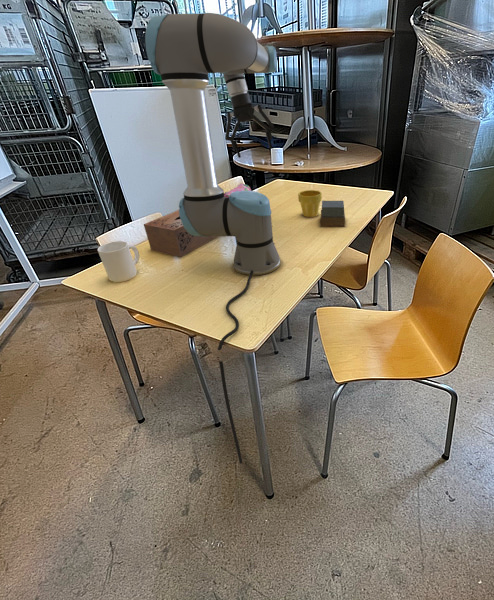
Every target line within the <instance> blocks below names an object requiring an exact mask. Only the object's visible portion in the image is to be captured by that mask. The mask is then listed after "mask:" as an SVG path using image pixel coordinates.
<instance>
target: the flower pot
mask: <svg viewBox="0 0 494 600" xmlns="http://www.w3.org/2000/svg"><path fill="white" fill-rule="evenodd" d="M297 198H298V199H297V200H298V202H299V205H300V208H301V212H302V215H303V216H304V217H306V218H312V217H313V218H315V217H317V216H318V215H319V210H320V204H321V202H322V201H323V199H322V198H323V195H322V191H320V190H317V189H316V190H315V189H310V190H309V189H306V190H302V191H299V192H298V193H297Z"/></svg>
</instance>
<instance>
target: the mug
mask: <svg viewBox="0 0 494 600" xmlns="http://www.w3.org/2000/svg"><path fill="white" fill-rule="evenodd" d="M131 250H132V252H133V253H134V259H133V255H132V253H131ZM97 252H98V255H99V257H100V258H99V259H100V260H101V263H102V265H103V268H104V270H105V273H106V276H107V278H108V279H109V280H110V281H111V282H113V283H123V282H127V281H129V280H132V279H134V278H135V277H136V276H137V273H138V271H137V268H136V265H137V264H138V262H139V260H140V251H139V249H138V248H137V247H136V245H134V244H131V243H128V242H127V241H123V240H117V241H116V240H115V241H110V242H106V243H103V244H101V245H99V247H97Z"/></svg>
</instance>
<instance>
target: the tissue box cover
mask: <svg viewBox="0 0 494 600" xmlns="http://www.w3.org/2000/svg"><path fill="white" fill-rule="evenodd" d="M143 228H144V231H145V234H146V237H147V242H148V244H149V248H150V250H151V251H152V252H157V253H161V254H166V255H170V256H172V257H173V256H174V257H177V258H182V257H184V256H186V255H188V254H190V253H191V252H193V251H195V250H197V249H198V248H200V247H202V246H204V245H205V244H208V243H209V242H210V241H213V240H215V239H216V238H219V236H207V237H202V236H193V235H191V234H189V233H188V232H187V231H186V230H185V228H184V226H183V224H182V222H181V219H180V215H179V209H178V210H175V211H172V212H170V213H168V214H167V213H166V214H165V215H163V216H161V217H160V216H159V217H158V218H155V219H153V220H150V221H148V222H146V223H144V224H143Z"/></svg>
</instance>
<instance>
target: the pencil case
mask: <svg viewBox="0 0 494 600" xmlns="http://www.w3.org/2000/svg"><path fill="white" fill-rule="evenodd" d="M235 191H252V189H251V186H249V185H248V184H245V183H241V182H240V183H239V184H238V185H237V186H236V187H234V188H233V189H230V190H229V191H224V197H229V196H230V194H231V193H232V192H235Z"/></svg>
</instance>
